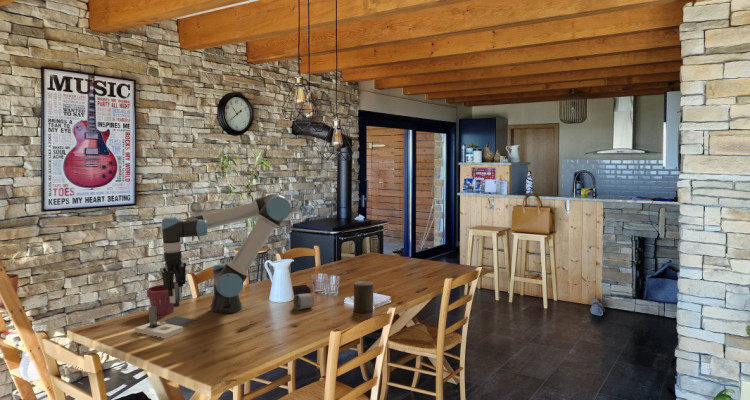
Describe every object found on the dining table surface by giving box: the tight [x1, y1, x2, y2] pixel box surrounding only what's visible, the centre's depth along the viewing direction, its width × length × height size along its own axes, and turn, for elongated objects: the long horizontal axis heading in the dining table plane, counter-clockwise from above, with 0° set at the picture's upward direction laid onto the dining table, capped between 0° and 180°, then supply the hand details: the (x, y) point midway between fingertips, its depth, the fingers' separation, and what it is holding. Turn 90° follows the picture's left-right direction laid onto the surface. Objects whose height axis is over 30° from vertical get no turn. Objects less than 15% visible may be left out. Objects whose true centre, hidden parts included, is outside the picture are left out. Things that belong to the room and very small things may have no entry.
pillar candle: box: [353, 280, 374, 314], centre depth 260 cm, size 10×10×15 cm
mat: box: [163, 316, 198, 327], centre depth 243 cm, size 14×14×1 cm
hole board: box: [134, 321, 184, 340], centre depth 229 cm, size 10×18×2 cm, turn 63°
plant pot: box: [146, 284, 175, 316], centre depth 259 cm, size 14×14×13 cm
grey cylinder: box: [293, 292, 315, 311], centre depth 266 cm, size 11×8×8 cm
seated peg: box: [148, 305, 158, 328], centre depth 231 cm, size 3×3×11 cm
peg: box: [172, 281, 181, 308], centre depth 242 cm, size 3×3×11 cm
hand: (175, 301), depth 243 cm, fingers closed on peg, 3 cm apart
